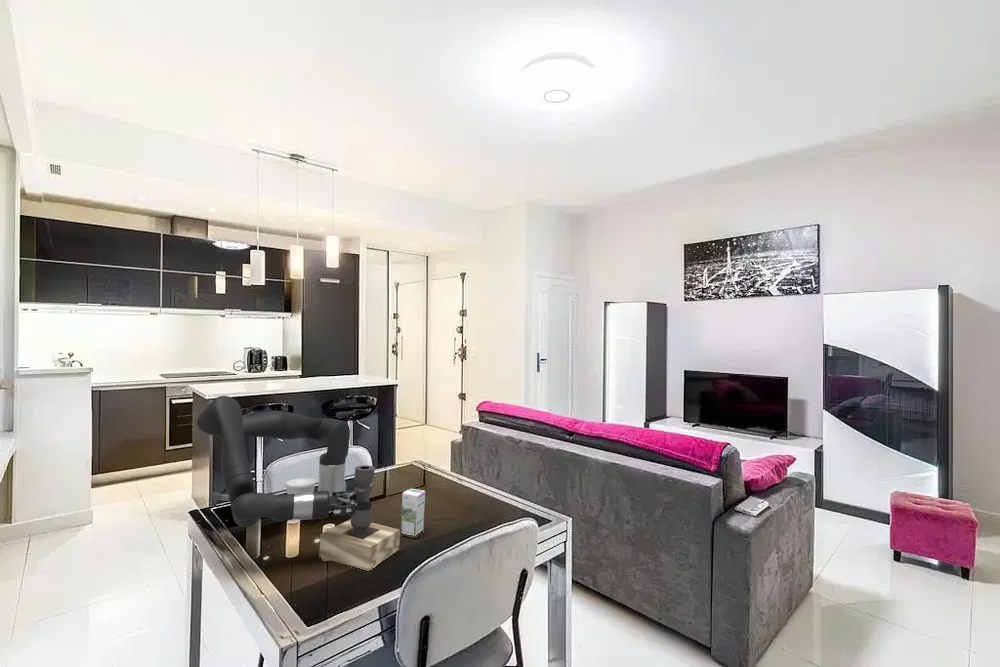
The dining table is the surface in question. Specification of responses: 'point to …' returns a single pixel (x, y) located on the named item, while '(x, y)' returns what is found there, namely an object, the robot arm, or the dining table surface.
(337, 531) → the socket block
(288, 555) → the dining table surface
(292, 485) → the ramekin
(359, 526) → the candle holder
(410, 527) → the syrup box
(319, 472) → the robot arm
